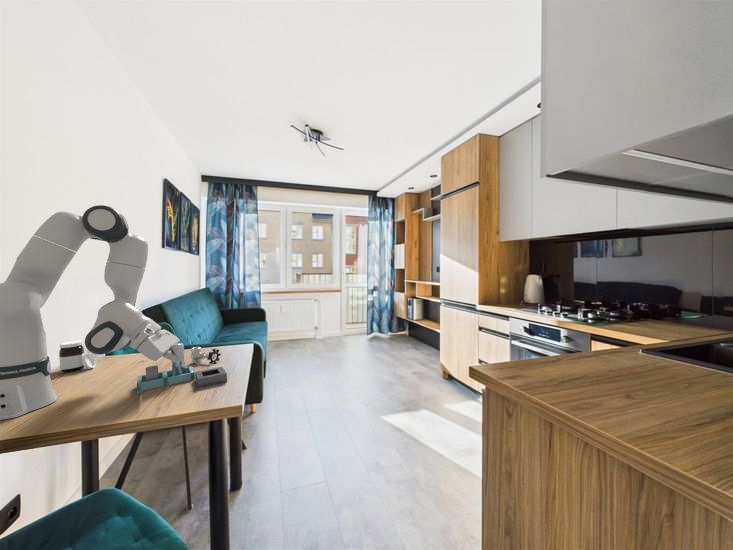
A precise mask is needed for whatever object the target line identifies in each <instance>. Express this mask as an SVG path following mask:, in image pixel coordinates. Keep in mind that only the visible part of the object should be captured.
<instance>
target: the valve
mask: <svg viewBox="0 0 733 550" xmlns="http://www.w3.org/2000/svg"><path fill="white" fill-rule="evenodd" d="M219 352H220V349H216V348H213V349H212V350H211V351H209V352H208V353H206V352H203V351H202V347H200V346H195V347H191V351H190V353H191V354H190V357H191V364H192V363H195V364H194V365H197V364H201V363H202V362H201V361H202V360H205V359H207V360H208V361H209V362H208V363H209V365H216V364H217V362H220V358H219V357H221V356H222V355H221V353H219ZM200 362H201V363H200ZM196 363H197V364H196Z"/></svg>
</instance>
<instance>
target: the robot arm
mask: <svg viewBox="0 0 733 550" xmlns="http://www.w3.org/2000/svg"><path fill="white" fill-rule="evenodd" d="M89 239H90V240H96V241H101V242H102V241H103V242H106V243H108V246H109V252H108V256H107V259H106V260H107V261H106V262H105V263H106V264H105V266H104V273H103V274H104V278H103V279H104V283H105V284H106V286H108V287H109V289H110V290H111V291H112V293H113V297H114V300H111V301H109V302H108V303H106V304H104V305H102V306H101V307H100V308H99V309H98V310H97V316H96V320H95V323H94V324H93V326H92V328H90V331H89V332H88V333H87V334H86V336H85V337H84V338H85V339H84V346H85V348H86V349H87V350H88V351H89V353H91V354H93V355H94V354H95V355H106V354H109V353H112V352H115V351H121V350H124V349H126V348H127V347H130V348H131V349H132V350H137V352H138V353H141V354H142V356H144V357H146V358H147V359H149V360H151V361H153V362H157V361H158V360H159V359H161V358H162V357H163V358H165V359H168V360H170V361H171V362H172V361H173V362H176V361H177V360H178V359H179V357H178V356H177V355H173V354H172V353H171V345H172V344H176V343H180V338H179V337H177V336H176V335H175V334H173V333H171V331H169V330H167V329H162V326H161V325H160V324H158V323H157V322H156V321H154V320H153V319H152V318H150V317H147V316H146V315H144V314H143V312H142V311H141V310H140V309H138V308H137V307H136V301H137V296H138V294H139V293H138V292H139V290H140V286H141V283H142V280H143V278H144V273H145V271H146V267H147V262H148V256H149V244H148V241H147V240H146V239H145V238H143V237H142V236H139V235H137V234H134V233H130V231H129V224H128V221H127V220H126V218H125V216H124V215H123V214H122V213H121V212H119V210H117V209H116V208H113V207H112V206H108V205H102V204H101V205H100V204H99V205H94V206H91V207H89V208H88V209H86V210H85V211H84V212H83V214H82V215H78V214H75V213H74V212H73V213H72V212H68V211H58V212H54V213H53V214H52V215H50V217H48V218H47V219H46V220H45V221H44V222H43V223H42V224H41V225H40V226H39V227H38V229H36V231H35V233H34V234H33V235H32V236H31V237H30V239H29V240H28V242H27V243H26V244H25V246H24V247H23V249H22V250H21V251H20V253H19V254H18V256H16V260H15V263H14V265H13V267H12V269H11V270H10V272H9V274H8V276H7V278H6V279H5V280H4V282H0V421H1V420H7V419H14V418H18V417H21V416H23V415H25V414H28V413H30V412H33V411H35V410H36V411H37V410H38V409H42V408H43V407H46V406H48V405H50V404H53V403H54V402H56V401H57V400H58V395H57V393H56V392H55V389H54V387H53V384H52V380H51V372H52V371H51V370H52V367H51V360H50V356H48V349H47V348H48V347H47V333H46V331H45V328H44V327H45V326H44V324H43V320H42V318H43V317H42V313H41V308H43V307H44V306H45V304H46V302H47V301H48V299H49V298H50V296H51V294H52V292H53V291H54V290H55V287H56V286H57V284H58V282H59V281H60V279H61V277H62V275H63V273H64V272H65V270H66V269H67V268H68V266H69V265H70V263H71V262H72V260H73V259H74V257H75V256H76V254H77V252H78V251H79V250H80V248H81V246H83V244H84V243H85V241H86V242H87V240H89Z"/></svg>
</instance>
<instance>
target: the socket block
mask: <svg viewBox="0 0 733 550" xmlns="http://www.w3.org/2000/svg"><path fill="white" fill-rule="evenodd" d="M194 372H195V380H194V381H195V383H196V385H197V389H201V388H205V387H211V386H215V385H220V384H223V383H227V382H228V373H227V372H226V370H225V369H224V367H223V366H218V367H214V368H208V369H203V370H197V371H194Z"/></svg>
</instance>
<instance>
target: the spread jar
mask: <svg viewBox="0 0 733 550" xmlns="http://www.w3.org/2000/svg"><path fill="white" fill-rule="evenodd" d="M59 348H60V349H59V351H58V357H59V359H58V360H59V369H60V370H59V371H60V373H62V372H63V374H64V373H65V374H66V373H67V372H68V373H73V372H77V371H78V370H79V371H82V370H83V369H87V370H92V369H95V367H97V359H96V357H95V355H94V353H92V352H86V353H85V348H84V346H83V340H70V341H65V342H61V343H60V344H59ZM91 368H92V369H91ZM81 369H82V370H81Z"/></svg>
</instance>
